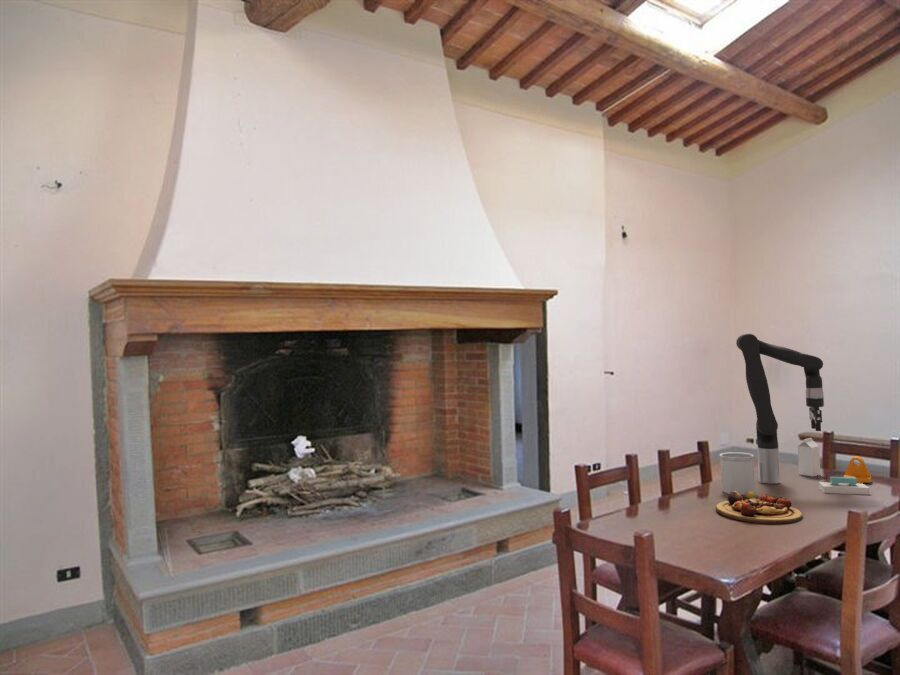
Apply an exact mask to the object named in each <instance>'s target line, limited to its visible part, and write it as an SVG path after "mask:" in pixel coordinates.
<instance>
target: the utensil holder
mask: <svg viewBox="0 0 900 675" xmlns="http://www.w3.org/2000/svg"><path fill="white" fill-rule="evenodd" d="M719 458H720V461H719V462H720V471H721V484H722V492H724V493H726V494H728V495H729V494H730V493H731V492H732V491H736V492H737V493H739V494H740V496H743V495H744V494H745V493H746V492H749V491H752V492H754V493H755V467H754V464H755V463H754V462H755V461H754V459H755V456H754V454H752V453H749V452H737V451H736V452H735V451H734V452H733V451H731V452H721V453H719Z"/></svg>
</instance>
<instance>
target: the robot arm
mask: <svg viewBox="0 0 900 675" xmlns="http://www.w3.org/2000/svg"><path fill="white" fill-rule="evenodd" d="M735 344H736V347H737V348H738V349H739V350H740V351H741V353H742V355H743V360H744V363H745V381H746V385H747V388H748V393H749V396H750V398H751V401H752V403H753V406H754V409H755V413H756V414H755V415H756V423H755V425H756V426H755V427H756V430H755V431H756V442H757V443H756V444H757V474H758V476H757V480H758V481H759V483H761V484H770V485H771V484H780V483H781V479H780V478H781V476H780V457H779V456H780V454H779V453H780V452H779V441H778V429H779V424H778V421H777V419H776V417H775V414H774V410H773V407H772V401H771V394H770V393H771V392H770V387H769V383H768V378H767V376H766V375H767V374H766V372H765V368H764V365H763V362H762V358H761V355H763V356H765V357H769V358H772V359H775V360H778V361H779V362H784V363H787V364H790V365H793V366H799V367H801V368H803V371H804V377H805V406H806V407H809V408H808V410H809V411H808V412H809V419H810V425H811V429H814V430H815V431H816V432H822V426H821V425H822V423H823V413H822V412H823V411H822V410H821V409H820V408H823V407H824V406H825V401H824V400H825V396H824V388H823V378H822V376H821V374H820V373H821V372H820V370H822V368H823V367H824V361H823V360H822V358H820V357H819V356H815V355H811V354H807V353H802V352H800V351H797V350H794V349H791V348H787V347H784V346H780V345H776V344H770V343H768V342H765V341H763V340H762V341H761V340H759V339H758V336H756V335H754V334H753V333H743V334H741V335H739V336H738V338H737V339H736V343H735Z"/></svg>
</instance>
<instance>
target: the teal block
mask: <svg viewBox="0 0 900 675" xmlns="http://www.w3.org/2000/svg"><path fill="white" fill-rule="evenodd" d="M829 482H830V483H832V485H833V486H838V483H843V484H849V486H856V484H857V479H856V478H855V477H843V476H829Z"/></svg>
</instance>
